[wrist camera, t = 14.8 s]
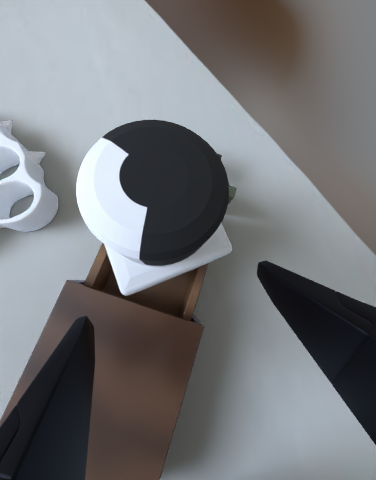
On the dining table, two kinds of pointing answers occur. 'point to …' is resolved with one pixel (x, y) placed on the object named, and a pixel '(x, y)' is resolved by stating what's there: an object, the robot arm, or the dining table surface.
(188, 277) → the drawer
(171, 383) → the cabinet
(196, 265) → the medicine bottle
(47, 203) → the white brass knuckles
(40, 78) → the dining table surface
